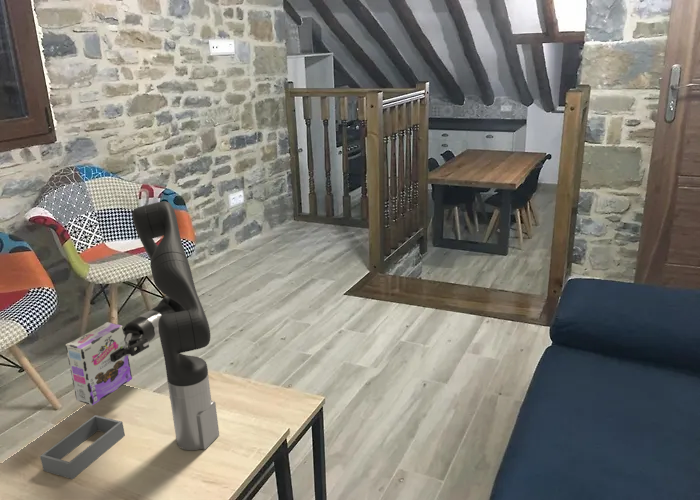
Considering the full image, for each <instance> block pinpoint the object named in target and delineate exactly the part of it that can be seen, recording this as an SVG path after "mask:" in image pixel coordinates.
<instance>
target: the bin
mask: <svg viewBox="0 0 700 500" xmlns="http://www.w3.org/2000/svg"><path fill="white" fill-rule="evenodd" d="M98 431H99V432H103V433H104V434H103V435H101V436H99V438H97V439H96V440H94V442H92V443H91V444H90V445H89V446H87V447H86V448H85V449H84V450H82V451H81V452H80V453H78V454H77V455H76V456H75V457H74V458H72V459H71V460H70V461H67V460H64V459H63V458H65V457H66V456H67V455H68V454H70V453H71V452H72V451H73V450H75V449H76V448H77V447H79V446H80V445H81V444H82V443H84V442H85V441H87V439H89V438H90V437H91V436H93V435H94V434H95V433H96V432H98ZM124 437H125V428H124V423H123V420H122V421H121V420H117V419H113V418H109V417H105V416H100V415H96V414H94V415H93V416H92V417H90V418H89V419H88V420H86V421H85V422H84V423H82V424H81V425H80V426H78V427H76V429H74V430H73V431H71V432H70V433H69V434H68V435H66V436H65V437H63V438H62V439H61V440H59V441H58V442H57V443H55V444H54V445H53V446H52V447H50V448H49V449H47V450H46V451H44V452H43V453H42V454H41V455H39V458H40V461H41V466H42V469H43V470H42V471H44V472H46V473H50V474H53V475H57V476H60V477H64V478H67V479H71V480H73V479H75V478H76V477H77V476H78V475H80V474H81V473H82V472H83V471H84V470H85V469H87V468H88V467H90V465H91V464H92V463H94V462H95V461H97V459H99V458H100V457H101V456H103V455H104V454H105V453H106V452H107V451H108V450H109V449H110V448H112V447H113V446H114V445H116V444H117V443H118V442H119V441H121V440H122V439H123V438H124Z"/></svg>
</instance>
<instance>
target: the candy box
mask: <svg viewBox="0 0 700 500" xmlns="http://www.w3.org/2000/svg"><path fill="white" fill-rule="evenodd" d="M123 329H124V325H121V324H118V323H112V322H109V321H107V322H104V324H102V325H100V326H98V327H96V328H95V329H93V330H90V331H89V332H87V333H84V334H83V335H81V336H79V337H78V338H76V339H74V340H72V341H70V342H68V343H66V344H65V345H64V346H65V350H66V354H67V359H68V364H69V365H68V366H69V369H70V373H71V374H70V375H71V380H72V384H73V389H74V394H75V400H76V401H77V402H81V403H84V404H86V405H89V406H94V405H96V404H97V403H99V402H100V401H101V400H103V399H105V398H106V397H107V396H109V395H111V394H112V393H113V392H115V391H116V390H118V389H119V388H122V386H124V385H126V384H128V383H129V382H130V381H132V379H133V376H132V375H133V374H132V370H131V365H130V359H129V355H127V356H123V357H122V358H120V359H119V360H117V361H115V362H112V361H111V357H110V355H111V354H112V353H113V352H115V351H116V350H118V349H120V348H122V347H123V346H124V345H125V344H126V341H125V335H124V330H123Z"/></svg>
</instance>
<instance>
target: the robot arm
mask: <svg viewBox="0 0 700 500" xmlns="http://www.w3.org/2000/svg"><path fill="white" fill-rule="evenodd" d="M132 221H133V226H134V228H135V231H136V233H137V235H138V237H139V239H140V242H141V244H142V246H143V248H144V250H145V252H146V253H147V255H148V257H149V259H150V272H151V275H152V279H153V283H154V285H155V286H156V288H157V289H158V290H159V291H160V292H161V293H162V294H164V297H163V298H162V299H161V300H160V301H159V303H158V304H157V305H156V306H155V307H152V309H150V310H148V311H146V312H143V313H142V314H140V315H139V316H137V317H135V318H134V319H133V320H131V321H129V322H128V323H126V324H125V325H124V326H123V330H124V335H125V341H126V344H125V345H124V346H123V347H122V348H120V349H118V350H116V351H115V352H113V353H112V354H111V355H110V357H111V361H112V362H115V361H117V360H119V359H120V358H122V357H123V356H127V355H128V356H129V355H130V356H131V357H134V356H136V355H138V354H140V353H141V352H143V351H144V350H146V349H148V348H149V347H150V344H149V342H151V341H152V340H153V339H155V338H156V337H157V336H159V340H160V345H161V349H162V355H163V359H164V365H165V372H166V379H167V385H168V386H167V387H168V391H169V392H168V393H169V400H170V407H171V414H172V420H173V427H174V434H175V438H176V445H177V446H178V447H179V448H180V449H182V450H186V451H196V450H206V449H207V448H208V447H209V446H210V445H211V444H212V443H213V442H214V441H215V440H216V439H217V438H218V437H219V436H220V429H219V421H218V412H217V407H216V405H217V404H216V402H215V400H212V394H211V393H212V392H211V387H210V379H209V371H208V364H207V361H205V359H203V358H202V357H199V356H195V355H187V354H184V353H186V352H191V351H195V350H196V351H197V350H199V349H203V348H205V347H208V345H209V344H210V341H211V330H210V329H211V328H210V325H209V322H208V321H209V320H208V318H207V315H206V313H205V310H204V309H203V308H204V307H203V305H202V303H201V300H200V298H199V295H198V293H197V290H196V286H195V281H194V277H193V273H192V270H191V266H190V263H189V259H188V256H187V254H186V251H185V248H184V246H183V242H182V238H181V234H180V229H179V223H178V219H177V215H176V212H175V209H174V207H173V206H172V204H171V203H170V202H168V201H158V202H153V203H150V204H146V205H143V206H139V207H135V208H134V209H133V210H132ZM159 237H162V239H161V240H160V242H159V243H158V244H157V242H155V240H154V239H155V238H159ZM135 348H136V349H135Z"/></svg>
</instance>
